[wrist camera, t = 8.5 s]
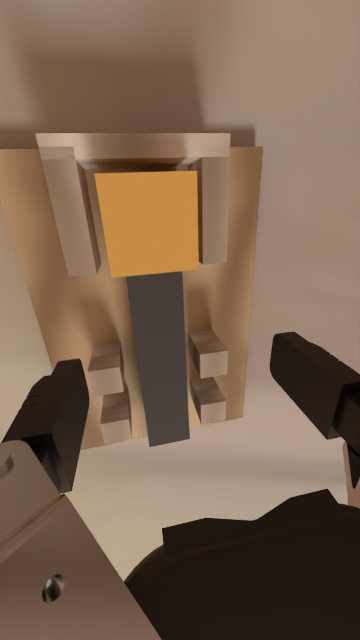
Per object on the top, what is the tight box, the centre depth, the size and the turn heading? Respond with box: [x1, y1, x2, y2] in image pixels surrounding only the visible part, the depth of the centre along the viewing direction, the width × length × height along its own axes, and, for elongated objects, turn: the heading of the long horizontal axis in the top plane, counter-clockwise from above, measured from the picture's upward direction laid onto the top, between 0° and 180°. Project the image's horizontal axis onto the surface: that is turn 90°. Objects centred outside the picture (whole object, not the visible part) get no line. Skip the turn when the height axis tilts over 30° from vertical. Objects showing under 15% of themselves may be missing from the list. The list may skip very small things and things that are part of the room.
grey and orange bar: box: [94, 171, 199, 447], centre depth 17 cm, size 18×5×5 cm, turn 3°
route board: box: [0, 133, 263, 450], centre depth 18 cm, size 16×23×4 cm
